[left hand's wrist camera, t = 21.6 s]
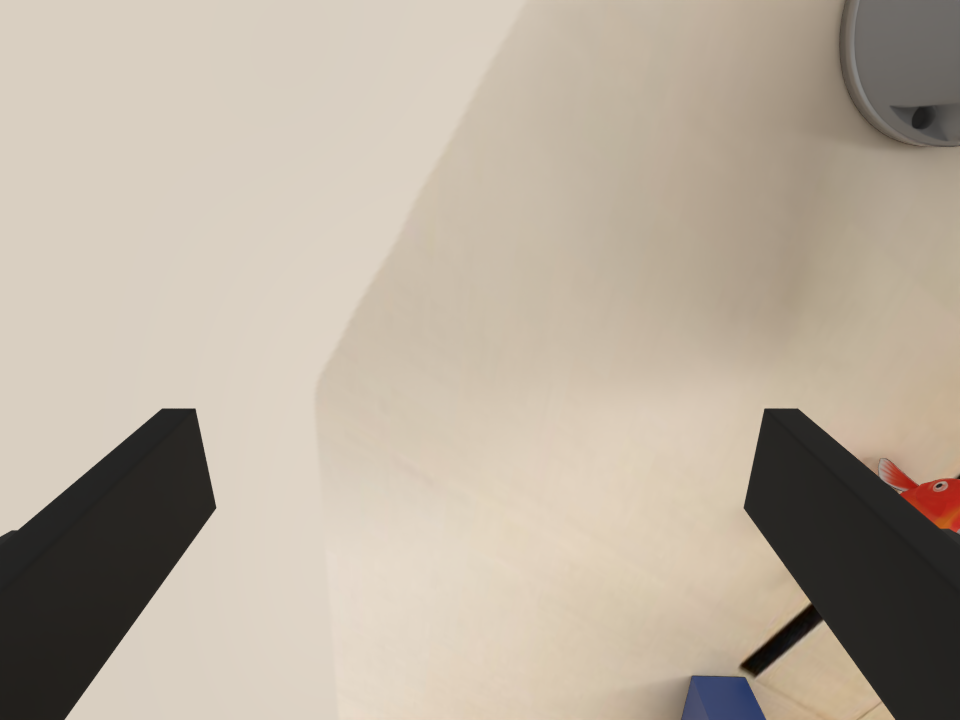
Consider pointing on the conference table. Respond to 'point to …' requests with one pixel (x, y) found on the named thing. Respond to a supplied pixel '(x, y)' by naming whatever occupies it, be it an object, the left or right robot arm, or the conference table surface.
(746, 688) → the brick
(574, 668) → the conference table surface
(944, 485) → the fish
